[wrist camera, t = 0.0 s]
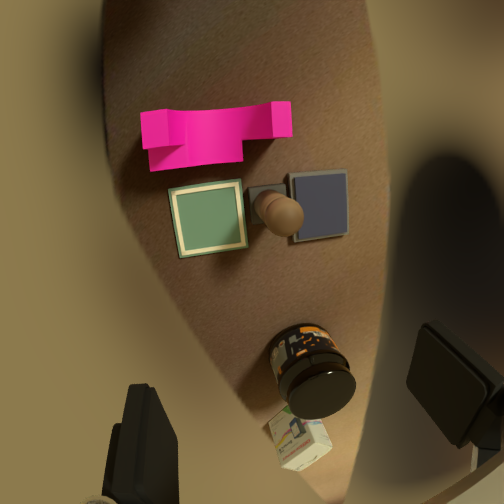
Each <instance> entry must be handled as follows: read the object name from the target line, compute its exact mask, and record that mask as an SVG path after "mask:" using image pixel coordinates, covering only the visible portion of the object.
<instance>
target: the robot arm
mask: <svg viewBox="0 0 504 504" xmlns="http://www.w3.org/2000/svg"><path fill="white" fill-rule="evenodd" d="M503 383H504V377H503V376H502V375H500V374H499V373H498V372H497V371H496V370H495V369H494V368H493V367H492V366H491V365H490V364H488V362H486V361H485V360H484V359H483V358H482V357H481V356H480V355H478V354H477V353H476V352H475V351H474V350H473V349H472V348H470V347H469V346H468V345H467V344H466V343H465V342H464V341H462V340H461V339H460V338H459V337H458V336H457V335H455V334H454V333H453V332H452V331H451V330H450V329H448V328H447V327H446V326H445V325H444V324H442V323H441V322H440V321H438V320H432V321H429V322H427V323H424V324H423V325H422V326H421V329H420V330H419V332H418V337H417V341H416V345H415V349H414V354H413V357H412V362H411V365H410V369H409V373H408V376H407V380H406V384H407V387H408V389H409V390H410V391H411V393H412V394H413V395H414V396H415V398H416V399H417V400H418V401H419V403H420V404H421V405H422V407H423V408H424V409H425V410H426V412H427V413H428V414H429V416H430V417H431V418H432V419H433V421H434V422H435V423H436V425H437V426H438V427H439V428H440V430H441V431H442V432H443V434H444V435H445V436H446V438H447V439H448V440H449V442H450V443H451V444H453V445H456V446H457V448H458V449H460V448H462V447H464V446H465V445H467V444H468V443H469V442H470V440H471V442H472V443H473V454H472V464H471V472H470V474H469V475H467V476H466V477H464V478H463V479H461V480H460V481H458V482H457V483H455V484H454V485H452V486H451V487H449V488H447V489H446V490H444V491H443V492H441V493H439V494H437V495H436V496H434V497H432V498H431V499H429V500H427V501H425V502H424V503H422V504H504V384H503ZM80 504H179V480H178V441H177V437H176V434H175V432H174V430H173V428H172V426H171V424H170V422H169V419H168V417H167V415H166V413H165V411H164V408H163V406H162V404H161V402H160V399H159V397H158V395H157V392H156V390H155V388H154V387H151V388H150V387H149V385H148V384H146V383H145V384H132V385H130V386H129V389H128V394H127V398H126V403H125V408H124V413H123V418H122V423H116V424H115V425H114V426H113V429H112V434H111V439H110V444H109V450H108V455H107V461H106V468H105V474H104V481H103V487H102V495H95V496H90V497H88V498H86V499H84V500H83V501H82V502H81V503H80Z"/></svg>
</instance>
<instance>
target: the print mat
mask: <svg viewBox="0 0 504 504" xmlns="http://www.w3.org/2000/svg"><path fill="white" fill-rule="evenodd" d="M168 192H169V199H170V205H171V211H172V217H173V223H174V229H175V234H176V240H177V245H178V251H179V256H180V258H184V257H190V256H197V255H203V254H210V253H216V252H223V251H229V250H236V249H242V248H249V247H248V238H247V229H246V221H245V212H244V203H243V194H242V185H241V178H239V179H231V180H223V181H216V182H209V183H202V184H196V185H189V186H183V187H177V188H171V189H168Z"/></svg>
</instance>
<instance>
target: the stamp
mask: <svg viewBox="0 0 504 504" xmlns="http://www.w3.org/2000/svg"><path fill="white" fill-rule="evenodd" d="M247 188H248V197H249V206H250V215H251V222H252V224H253V225H255V224H262V223H265V224H266V226H267V227H268V229H269V230H270V231H271V232H272V233H274V234H275V235H278V236H281V237H287V236H291V235H293V234H295V233H297V232H298V231H299V230H300V228H301V227H302V225H303V222H304V213H303V210H302V208H301V206H300V205H299V203H298V202H296V201H295V200H293V199H291V198H288V197H286V185H285V184H283V183H280V184H271V185H262V186H254V187H247Z"/></svg>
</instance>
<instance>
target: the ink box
mask: <svg viewBox="0 0 504 504" xmlns="http://www.w3.org/2000/svg"><path fill="white" fill-rule="evenodd" d="M268 423H269V427H270V430H271V434H272V437H273V441H274V444H275V448H276V451H277V455H278V458H279V462H280V465H281V467H282V468H286V469H290V470H295V471H301V470H303V469H305V468H306V467H308V466H309V465H310V464H312V463H313V462H315V461H316V460H318V459H319V458H320V457H322V456H323V455H325V454H326V453H327V452H329V451H330V450H331V448H332V447H333V446H332V444H331V441H330V439H329V437H328V435H327V432H326V430H325V428H324V425H323V423H322V421H321V419H317V420H304V419H300V418H297V417H296V416H294V415H293V414H292V413H291V411H290V409H289V406H288V405H287V406H286V407H285V408H284V409H283V410H282V411H281V412H280V413H279V414H277V415H276V416H275V417H274V418H273V419H272V420H271V421H269V422H268Z"/></svg>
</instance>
